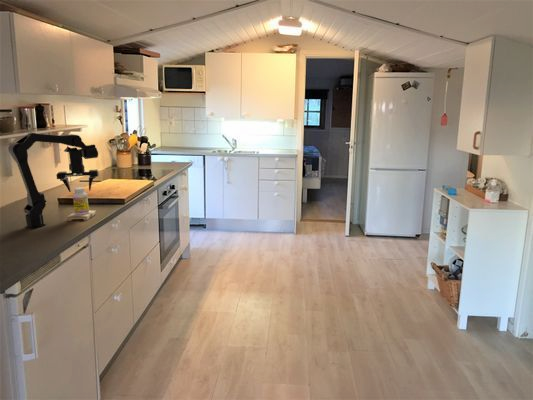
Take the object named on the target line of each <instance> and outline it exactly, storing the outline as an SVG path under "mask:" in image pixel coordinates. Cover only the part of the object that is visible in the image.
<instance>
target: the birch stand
mask: <svg viewBox="0 0 533 400" xmlns="http://www.w3.org/2000/svg"><path fill="white" fill-rule="evenodd" d="M97 214H98V210H97V209H96V210H95V209H94V210H91V209H89V213H87V214H84V215H77V214H75V211H74V212H72V213H71V214H69V215H68V216H66V220H68V221H69V222H70V221H73V220H83V221H86V222H87V221H88V220H90V219H91V218H93V217H94V216H96V215H97Z"/></svg>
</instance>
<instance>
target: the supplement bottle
mask: <svg viewBox="0 0 533 400" xmlns="http://www.w3.org/2000/svg"><path fill="white" fill-rule="evenodd" d="M85 190H86V189H85V187H83V186H82V187H76V188H74V193H73V195H72V199H73V200H72V202H73V208H74V210H73V211H74V212H75V214H77V215H84V214H87V213H89V210H90V207H89V201H88V200H89V199H88V193H86V192H85Z"/></svg>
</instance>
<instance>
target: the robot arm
mask: <svg viewBox="0 0 533 400" xmlns="http://www.w3.org/2000/svg"><path fill="white" fill-rule="evenodd" d="M36 142H38V143H39V142H40V143H52V144H62V145H65V146H66V148H65V149H64V150H63V152H65V153H68V157H69V164H68V165H69V166H68V169H69V171H70V172H67V171H58V172H57V173H56V179H57V180H59V181H60V182H63V185H65V187H66V188H67V190H68V192H69V193H71V191H72V190H71V186H70V185H71V184H70V182H69V178H71V177H83V176H85V177H86V176H89V177H88V190H89V192H90V191H91V189H92V184H93V181H94V179H96V177H97V178H98V177H99V174H100V173H99V170H98V169H89V171H85V165H84V162H83V159H85V160H88V159H89V160H90V159H91V160H92V159H97V158H98V157H99V151H98V148H97V147H96V144H93V143H92V144H87V145H86V144H85V143H84V142H83V139H82V137H81V136H80V134H79V135H78V134H62V135H60V134H59V135H57V134H46V133H36V132H28V133H27V134H26V135H25V136H23V137H21V138H20V139H19V140H17V141H16V142H12V143H11V144H9V146H8V148H7V150H8V152H9V154H10V156H11V157H12V159H13V161H14V162H15V163H16V164H17V167H18V170H19V173H20V176H21V179H22V181H23V184H24V187H25V189H26V193H27V194H26V195H27V196H26V198H27V199H26V200H27V204H26V205H25V207H24V208H23V212H24V213H25V223H26V225H25V226H24V228H26V229H37V228H41V227H45V226H46V223H45V221H44V216H43V211H44V209H45V208H46V205H47V204H46V203H47V200H46V198H45V194H44V193H43V192H41V191H38V190H39V189H38V188H37V185H36V182H35V180H34V177H33V176H34V175H33V174H32V171H31V168H30V165H29V162H28V161H29V159H28V158H29V155H28V150H30V148H31V147H32V146H33V145H34V144H35V143H36Z"/></svg>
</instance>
